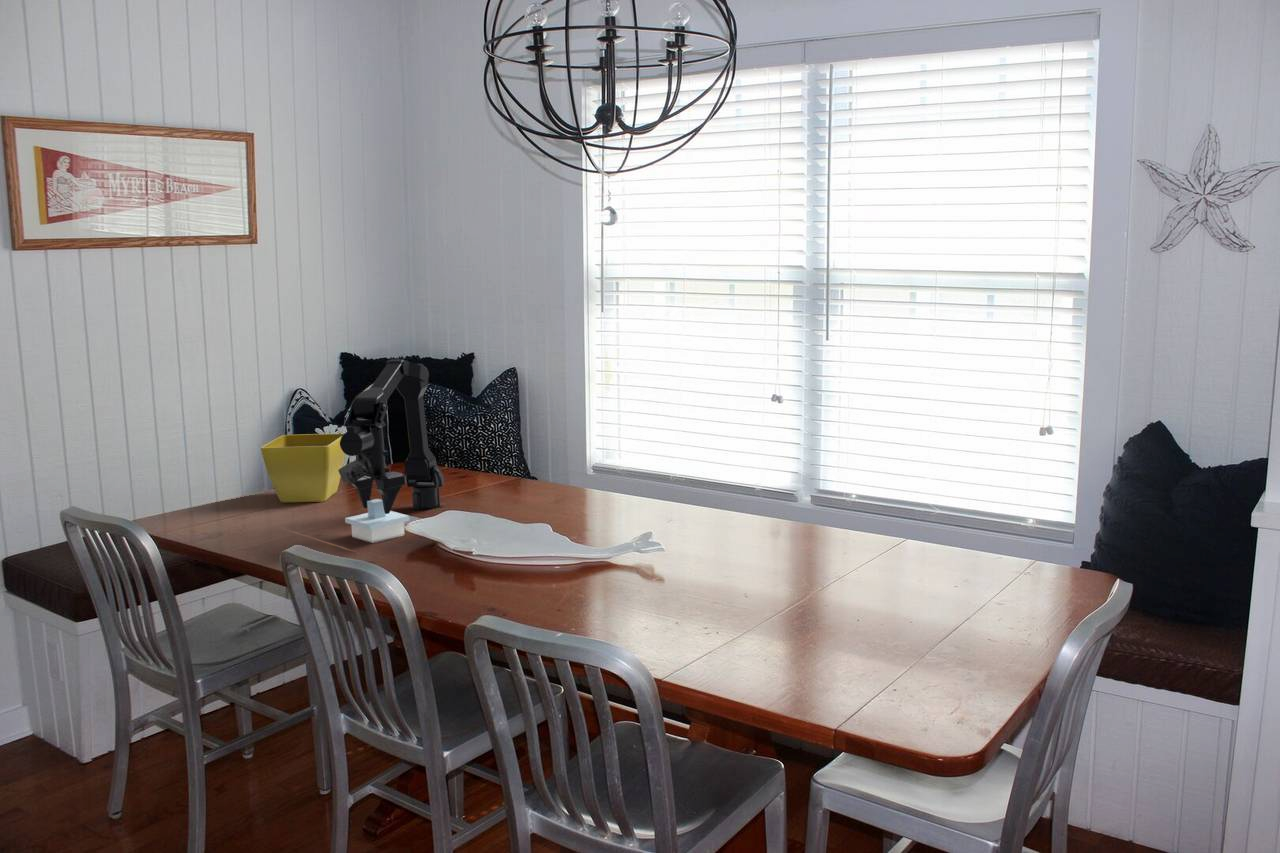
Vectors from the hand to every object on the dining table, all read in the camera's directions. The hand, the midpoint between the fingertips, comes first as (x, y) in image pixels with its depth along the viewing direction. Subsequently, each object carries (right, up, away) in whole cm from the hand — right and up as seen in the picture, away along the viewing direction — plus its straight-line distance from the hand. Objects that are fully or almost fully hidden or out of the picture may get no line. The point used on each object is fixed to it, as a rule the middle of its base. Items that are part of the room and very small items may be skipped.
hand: (376, 510), depth 265 cm
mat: (0, -4, +15) cm, 16 cm away
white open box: (0, -7, +1) cm, 7 cm away
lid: (0, -3, 0) cm, 3 cm away
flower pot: (-30, 0, +47) cm, 56 cm away
